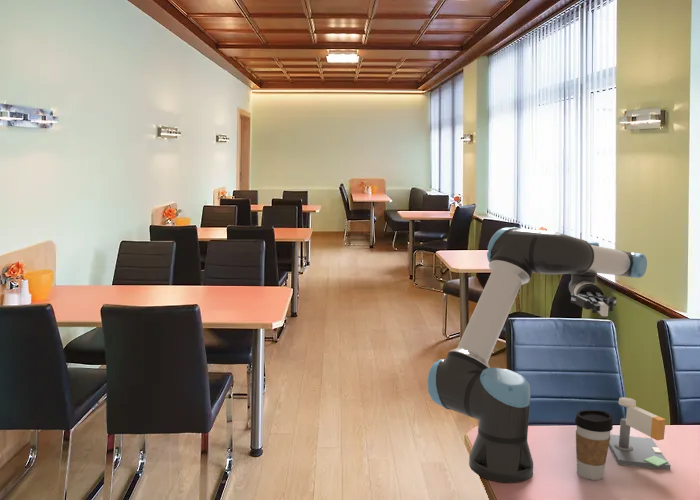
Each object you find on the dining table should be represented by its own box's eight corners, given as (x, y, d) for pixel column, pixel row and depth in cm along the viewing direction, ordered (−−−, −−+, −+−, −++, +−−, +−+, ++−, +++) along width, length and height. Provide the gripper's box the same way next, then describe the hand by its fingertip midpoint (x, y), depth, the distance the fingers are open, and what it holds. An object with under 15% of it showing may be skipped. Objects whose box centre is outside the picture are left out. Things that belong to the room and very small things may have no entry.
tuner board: (619, 467, 152) (620, 461, 152) (604, 438, 169) (604, 432, 169) (672, 472, 150) (672, 466, 149) (651, 442, 167) (651, 437, 166)
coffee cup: (612, 484, 143) (617, 422, 141) (574, 480, 145) (578, 419, 143) (604, 468, 151) (609, 409, 149) (568, 464, 153) (572, 405, 151)
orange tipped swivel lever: (611, 443, 161) (615, 398, 160) (623, 441, 163) (627, 396, 161) (652, 465, 149) (656, 416, 148) (664, 463, 151) (668, 415, 149)
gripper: (610, 308, 189) (629, 326, 166) (565, 305, 191) (579, 323, 168) (612, 284, 188) (632, 299, 165) (567, 282, 190) (580, 296, 167)
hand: (605, 311), depth 166 cm, fingers closed
